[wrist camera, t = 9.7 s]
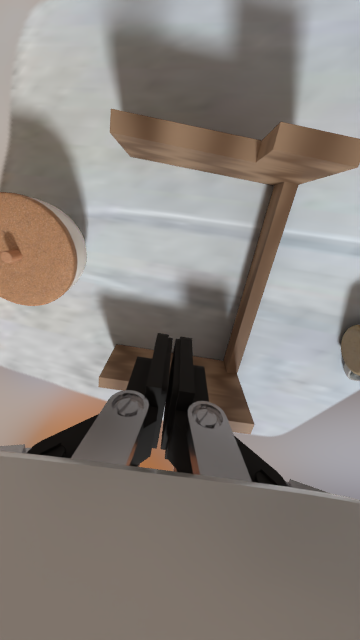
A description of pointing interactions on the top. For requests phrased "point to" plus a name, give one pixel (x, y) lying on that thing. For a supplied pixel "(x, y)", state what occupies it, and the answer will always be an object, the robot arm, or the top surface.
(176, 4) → the top surface
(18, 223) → the lidded jar
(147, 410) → the robot arm
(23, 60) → the top surface
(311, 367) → the top surface
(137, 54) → the top surface
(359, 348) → the white mug
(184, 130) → the wooden rack
